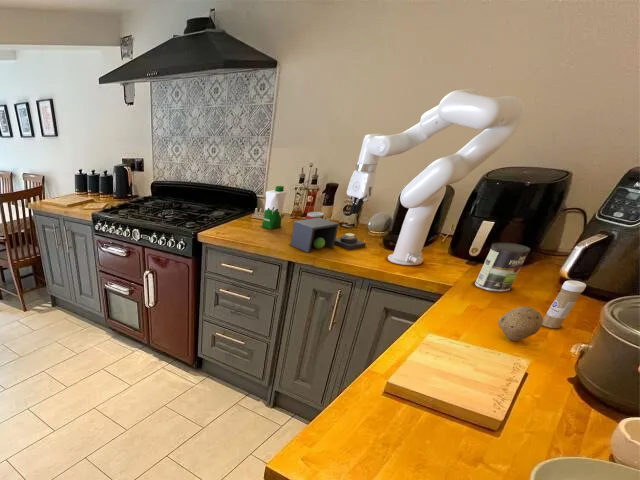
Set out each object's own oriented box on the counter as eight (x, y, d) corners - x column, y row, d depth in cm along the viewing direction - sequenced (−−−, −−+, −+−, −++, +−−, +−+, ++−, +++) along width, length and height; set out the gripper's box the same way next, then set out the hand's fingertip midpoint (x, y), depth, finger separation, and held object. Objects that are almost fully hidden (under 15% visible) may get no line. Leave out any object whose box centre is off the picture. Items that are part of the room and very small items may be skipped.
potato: (484, 336, 120) (500, 304, 114) (503, 329, 123) (520, 298, 117) (519, 350, 113) (538, 317, 108) (538, 342, 116) (558, 310, 110)
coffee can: (517, 289, 145) (538, 249, 136) (494, 293, 143) (514, 253, 135) (489, 279, 153) (507, 240, 145) (467, 283, 151) (484, 244, 143)
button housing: (364, 247, 189) (366, 239, 187) (348, 249, 187) (350, 242, 185) (345, 240, 199) (347, 233, 197) (330, 243, 197) (332, 235, 195)
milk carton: (283, 227, 223) (289, 187, 212) (270, 230, 220) (276, 189, 208) (271, 223, 230) (277, 184, 218) (259, 226, 226) (264, 187, 215)
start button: (355, 238, 190) (356, 234, 189) (348, 240, 189) (349, 236, 188) (349, 236, 193) (350, 232, 192) (342, 237, 192) (343, 234, 191)
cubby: (333, 248, 191) (339, 223, 184) (307, 252, 187) (312, 227, 181) (314, 240, 201) (319, 217, 194) (290, 245, 198) (294, 221, 191)
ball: (326, 235, 188) (318, 239, 193) (316, 236, 187) (309, 240, 192) (328, 245, 188) (321, 249, 193) (319, 247, 187) (312, 251, 192)
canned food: (316, 233, 210) (321, 211, 203) (321, 238, 203) (326, 215, 197) (301, 234, 211) (305, 211, 204) (305, 238, 204) (309, 215, 198)
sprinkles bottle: (536, 322, 125) (560, 280, 117) (550, 321, 125) (575, 279, 117) (550, 329, 121) (576, 286, 113) (564, 328, 121) (591, 285, 114)
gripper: (346, 166, 179) (335, 210, 190) (373, 171, 167) (359, 218, 178) (359, 164, 180) (348, 208, 191) (387, 169, 169) (373, 216, 180)
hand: (354, 213), depth 185 cm, fingers closed
